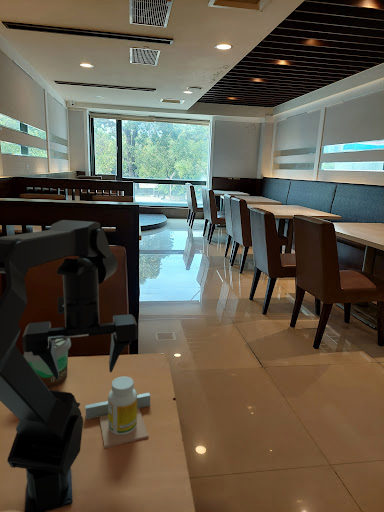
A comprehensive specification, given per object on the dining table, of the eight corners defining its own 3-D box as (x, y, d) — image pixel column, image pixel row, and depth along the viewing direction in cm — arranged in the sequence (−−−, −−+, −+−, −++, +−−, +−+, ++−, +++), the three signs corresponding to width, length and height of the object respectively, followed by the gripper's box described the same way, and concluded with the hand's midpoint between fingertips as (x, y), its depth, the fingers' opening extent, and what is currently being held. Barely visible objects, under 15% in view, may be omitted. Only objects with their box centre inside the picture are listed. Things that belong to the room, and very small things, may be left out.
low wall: (150, 405, 72) (150, 395, 72) (86, 419, 68) (85, 408, 67) (149, 402, 73) (149, 392, 73) (85, 416, 69) (85, 405, 68)
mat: (148, 437, 64) (148, 435, 64) (104, 448, 61) (104, 446, 61) (139, 409, 71) (139, 408, 71) (99, 418, 68) (99, 416, 68)
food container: (50, 399, 73) (47, 357, 71) (26, 393, 75) (22, 352, 72) (83, 368, 85) (81, 331, 82) (61, 364, 86) (59, 327, 84)
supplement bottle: (102, 431, 64) (101, 386, 62) (118, 413, 69) (118, 371, 67) (127, 440, 63) (127, 394, 60) (142, 420, 67) (142, 378, 65)
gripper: (129, 276, 69) (130, 347, 73) (28, 282, 63) (34, 358, 67) (138, 295, 59) (138, 376, 62) (18, 304, 53) (26, 393, 57)
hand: (84, 374), depth 62 cm, fingers open, 9 cm apart
